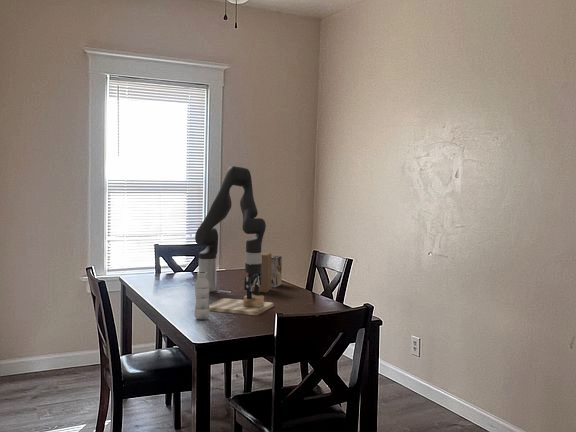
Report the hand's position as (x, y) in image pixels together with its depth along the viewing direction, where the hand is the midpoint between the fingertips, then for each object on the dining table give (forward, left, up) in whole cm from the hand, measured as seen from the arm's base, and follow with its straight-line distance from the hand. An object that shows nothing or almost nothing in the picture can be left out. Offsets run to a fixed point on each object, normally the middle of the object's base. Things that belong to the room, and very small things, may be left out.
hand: (252, 297), depth 267 cm
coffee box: (-11, +56, -6) cm, 57 cm away
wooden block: (-13, +40, -6) cm, 42 cm away
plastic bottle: (-13, -25, -6) cm, 29 cm away
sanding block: (0, 0, -4) cm, 4 cm away
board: (-7, 0, -6) cm, 9 cm away
